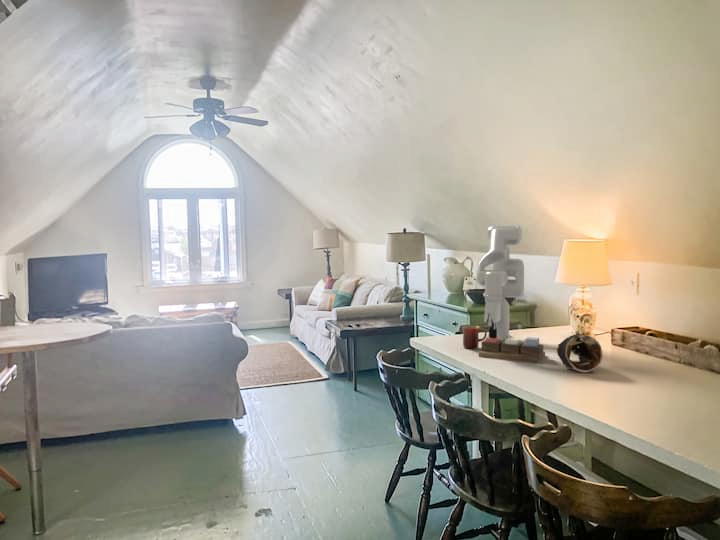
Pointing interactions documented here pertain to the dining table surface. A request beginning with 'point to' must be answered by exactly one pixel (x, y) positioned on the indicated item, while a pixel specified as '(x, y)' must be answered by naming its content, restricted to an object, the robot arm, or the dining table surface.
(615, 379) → the dining table surface
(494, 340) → the brick key
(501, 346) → the keypad
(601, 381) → the dining table surface
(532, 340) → the slate key
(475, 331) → the mug
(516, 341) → the ivory key
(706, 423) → the dining table surface
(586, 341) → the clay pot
